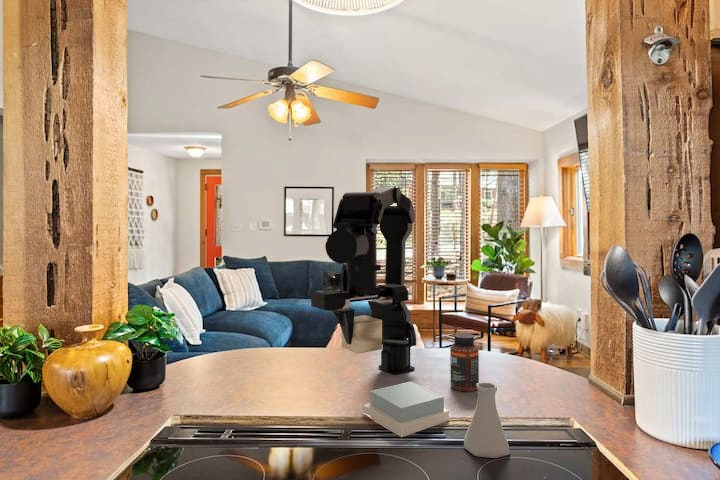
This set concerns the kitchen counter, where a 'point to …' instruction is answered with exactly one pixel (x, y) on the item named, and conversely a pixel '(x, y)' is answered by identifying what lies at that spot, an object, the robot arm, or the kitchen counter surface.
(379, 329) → the maple cube
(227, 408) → the kitchen counter surface
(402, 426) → the bottom block
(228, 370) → the kitchen counter surface
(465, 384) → the supplement bottle
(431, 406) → the top block
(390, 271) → the robot arm
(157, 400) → the kitchen counter surface
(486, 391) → the flask
